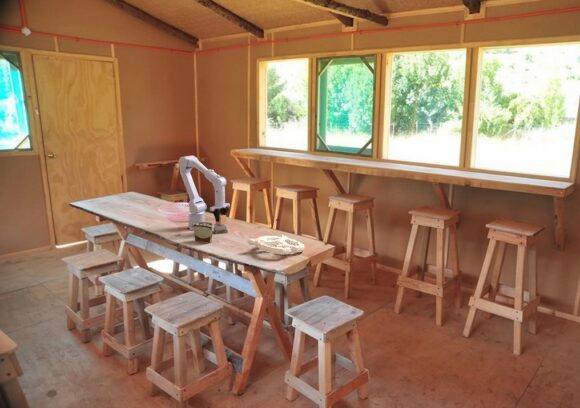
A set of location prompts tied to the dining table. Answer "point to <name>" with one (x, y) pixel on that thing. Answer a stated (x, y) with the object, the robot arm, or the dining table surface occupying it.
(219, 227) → the top slab
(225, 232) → the bottom slab
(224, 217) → the peach foam cube
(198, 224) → the food container
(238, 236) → the dining table surface
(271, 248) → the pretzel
